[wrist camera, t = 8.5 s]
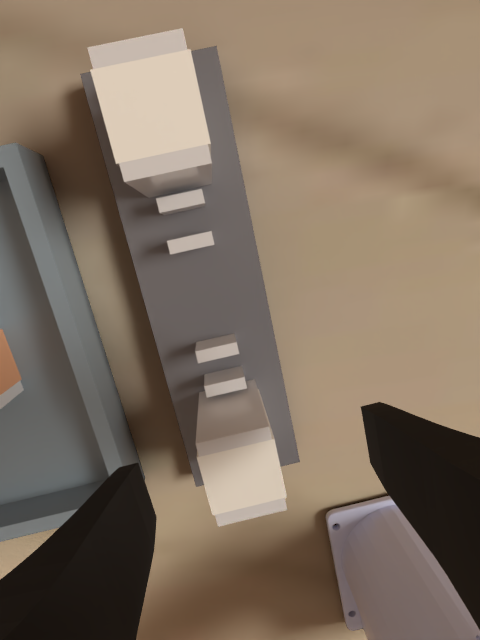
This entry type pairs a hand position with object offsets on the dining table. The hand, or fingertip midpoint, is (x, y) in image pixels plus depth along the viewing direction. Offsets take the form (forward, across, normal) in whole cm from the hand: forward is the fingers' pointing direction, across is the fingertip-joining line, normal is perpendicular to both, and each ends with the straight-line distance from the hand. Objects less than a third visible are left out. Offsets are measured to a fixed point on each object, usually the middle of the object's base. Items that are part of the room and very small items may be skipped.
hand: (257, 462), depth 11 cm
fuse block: (+9, +1, -4) cm, 10 cm away
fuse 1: (+8, +1, -11) cm, 14 cm away
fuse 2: (+8, +1, +3) cm, 9 cm away
